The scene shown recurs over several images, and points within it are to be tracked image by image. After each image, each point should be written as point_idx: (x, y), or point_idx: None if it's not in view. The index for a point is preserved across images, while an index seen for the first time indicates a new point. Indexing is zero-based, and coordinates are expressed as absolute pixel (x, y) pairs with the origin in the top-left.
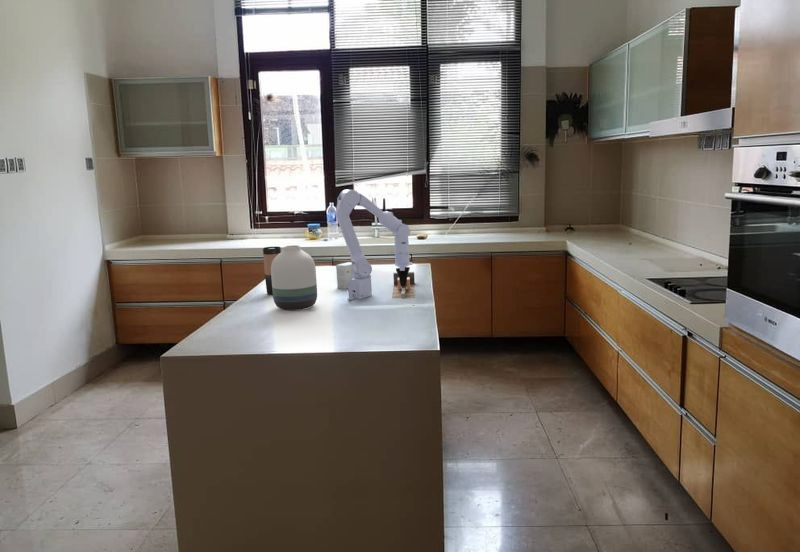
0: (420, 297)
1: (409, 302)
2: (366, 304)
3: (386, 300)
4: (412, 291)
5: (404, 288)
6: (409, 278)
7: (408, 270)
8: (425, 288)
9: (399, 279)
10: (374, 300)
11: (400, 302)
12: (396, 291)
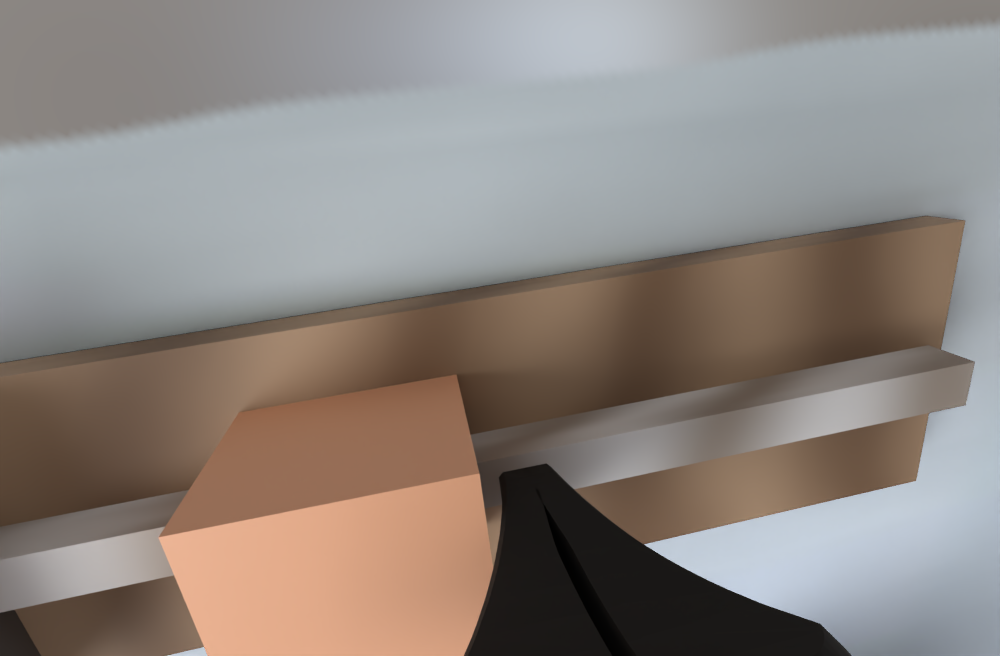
0: (764, 161)
1: (989, 266)
2: (921, 632)
3: (818, 523)
4: (561, 318)
5: (587, 450)
6: (347, 501)
7: (846, 651)
8: (31, 154)
9: (456, 652)
10: None
11: None
12: None
